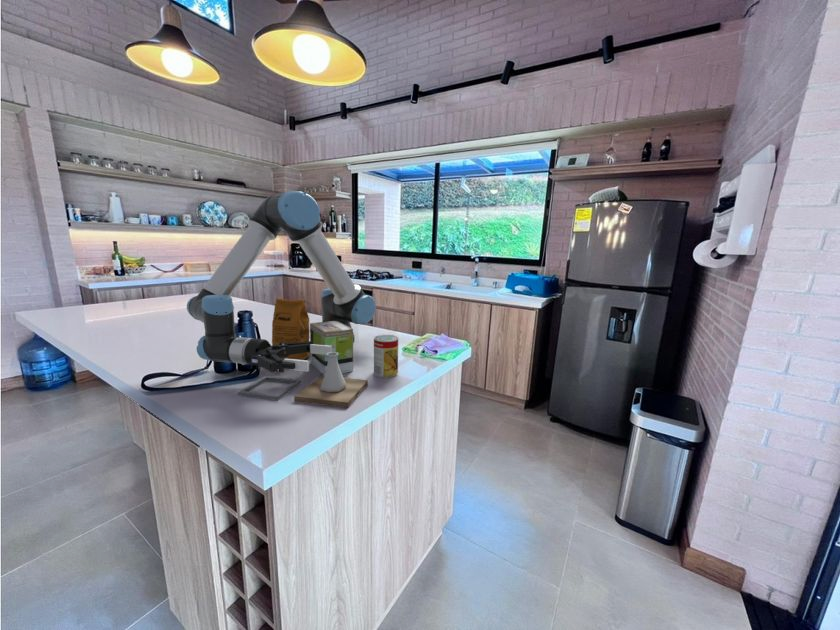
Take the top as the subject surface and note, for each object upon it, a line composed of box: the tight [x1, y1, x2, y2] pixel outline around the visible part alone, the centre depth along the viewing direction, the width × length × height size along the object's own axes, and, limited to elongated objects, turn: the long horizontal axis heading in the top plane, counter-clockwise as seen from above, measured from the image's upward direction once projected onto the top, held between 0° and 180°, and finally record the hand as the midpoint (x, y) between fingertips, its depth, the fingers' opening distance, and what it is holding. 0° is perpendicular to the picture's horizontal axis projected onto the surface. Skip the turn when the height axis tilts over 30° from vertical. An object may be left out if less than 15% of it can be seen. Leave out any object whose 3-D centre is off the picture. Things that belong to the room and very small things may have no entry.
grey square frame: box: [237, 375, 303, 401], centre depth 94 cm, size 12×12×1 cm
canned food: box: [373, 334, 399, 378], centre depth 108 cm, size 8×8×12 cm
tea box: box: [309, 321, 354, 375], centre depth 111 cm, size 15×10×15 cm
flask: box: [320, 352, 346, 392], centre depth 92 cm, size 7×7×10 cm
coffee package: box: [271, 297, 311, 362], centre depth 118 cm, size 10×12×22 cm
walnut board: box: [294, 374, 369, 409], centre depth 93 cm, size 15×15×2 cm
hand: (320, 357), depth 92 cm, fingers open, 13 cm apart
